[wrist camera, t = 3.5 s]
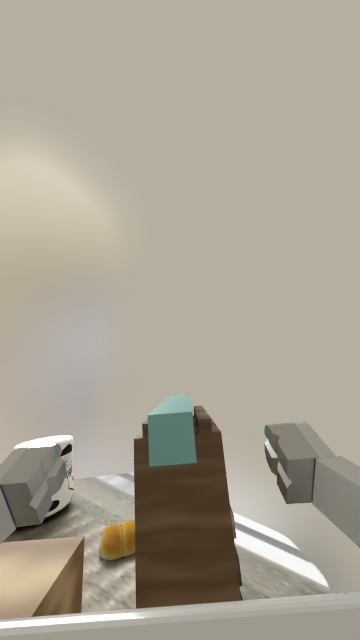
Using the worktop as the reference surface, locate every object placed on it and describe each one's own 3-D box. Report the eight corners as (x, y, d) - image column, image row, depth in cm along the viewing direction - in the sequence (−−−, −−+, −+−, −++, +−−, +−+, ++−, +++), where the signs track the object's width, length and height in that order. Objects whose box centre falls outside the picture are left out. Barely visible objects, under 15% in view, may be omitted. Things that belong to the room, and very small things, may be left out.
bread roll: (145, 553, 42) (145, 528, 43) (97, 568, 39) (98, 542, 41) (140, 528, 50) (140, 507, 51) (100, 540, 47) (100, 518, 48)
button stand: (272, 795, 17) (224, 417, 25) (138, 805, 17) (133, 424, 25) (233, 611, 30) (210, 405, 38) (159, 617, 30) (152, 409, 38)
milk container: (86, 501, 63) (89, 434, 68) (24, 542, 48) (34, 452, 53) (47, 494, 70) (52, 434, 75) (-18, 528, 54) (-6, 449, 59)
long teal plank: (196, 462, 16) (192, 411, 17) (149, 466, 16) (147, 415, 17) (189, 413, 40) (188, 394, 41) (171, 414, 40) (170, 395, 41)
